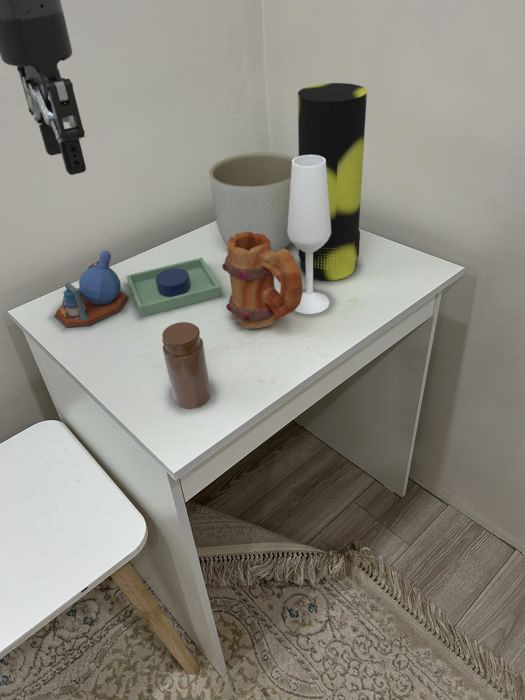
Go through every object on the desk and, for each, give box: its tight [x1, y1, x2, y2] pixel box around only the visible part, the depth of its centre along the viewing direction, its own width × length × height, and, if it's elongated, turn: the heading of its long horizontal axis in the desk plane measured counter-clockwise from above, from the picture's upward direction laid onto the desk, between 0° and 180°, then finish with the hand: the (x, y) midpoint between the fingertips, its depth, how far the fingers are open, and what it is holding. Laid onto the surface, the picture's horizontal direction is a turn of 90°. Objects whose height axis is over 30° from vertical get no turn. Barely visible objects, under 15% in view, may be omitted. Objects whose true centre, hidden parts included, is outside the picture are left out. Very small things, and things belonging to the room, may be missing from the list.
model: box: [53, 250, 129, 329], centre depth 91 cm, size 12×9×9 cm
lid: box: [156, 268, 191, 297], centre depth 96 cm, size 6×6×2 cm
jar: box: [161, 321, 212, 410], centre depth 72 cm, size 5×5×11 cm
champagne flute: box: [287, 155, 331, 315], centre depth 84 cm, size 7×7×24 cm
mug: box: [221, 232, 304, 329], centre depth 82 cm, size 15×8×15 cm, turn 42°
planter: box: [208, 151, 295, 252], centre depth 104 cm, size 17×17×15 cm
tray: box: [126, 257, 222, 318], centre depth 96 cm, size 14×11×2 cm
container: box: [297, 82, 368, 282], centre depth 91 cm, size 11×11×30 cm
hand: (66, 162), depth 68 cm, fingers open, 8 cm apart
